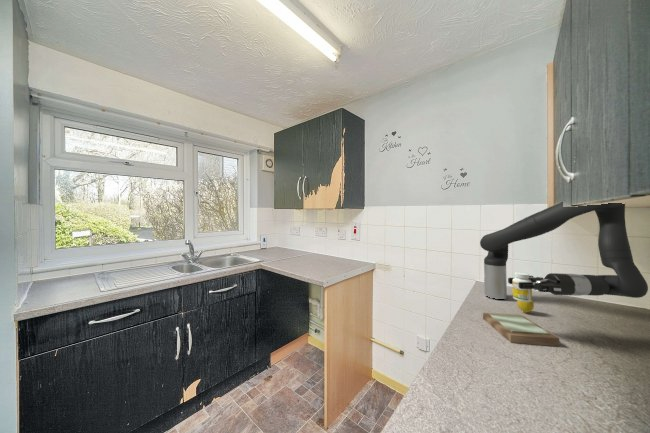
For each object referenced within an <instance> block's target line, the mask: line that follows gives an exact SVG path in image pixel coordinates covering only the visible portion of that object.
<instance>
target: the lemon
mask: <svg viewBox="0 0 650 433" xmlns="http://www.w3.org/2000/svg"><path fill="white" fill-rule="evenodd" d="M516 304H517V308H518V309H520V310H521V311H522V312H523V313H525V314H527V313H530V312H532V311H533V310H534V309H535V305H534V304H535V303H534V300H533V299H532V301H531V302H523V301H518V300H516Z"/></svg>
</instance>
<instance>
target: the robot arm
mask: <svg viewBox="0 0 650 433" xmlns="http://www.w3.org/2000/svg"><path fill="white" fill-rule="evenodd" d="M590 212H594V213H595V214H596V216H597V220H598V225H599V228H598V229H599V231H598V240H597V242H598V244H597V246H598V252H599V257H600V261H601V264H602V266H604V267H605V268H609V269H612V270H613V271H614V273H615V275H614V274H613V275H612V274H599V275H594V274H577V273H555V272H554V273H552V272H551V273H548V274H546V275H545V277H543V276H536V277H535V276H534V275H529V278H528V279H529V280H530V281H531V282H532V283H531V282H519V288H521V289H532V291H538V292H540V293H549V294H552V295H554V296H577V297H578V296H579V297H581V296H596V297H597V296H604V295H607V296H618V297H626V298H634V299H637V298H638V299H640V298H643V297H646V295H647V294H648V291H649V286H648V282H647V280H646V279H645V277H644V275H643V274H642V273H641V271H640V270H639V268H638V267H637V266H636V264H635V262H634V259H633V258H634V257H633V255H632V254H633V253H632V249H631V245H630V242H629V237H628V232H627V227H626V226H627V225H626V203H625V204H622V203H608V204H601V205H587V206H578V207H563V201H561V202H559V203H557V204H554V205H552V206H549V207H547V208H545V209H542V210H541V211H538V212H536V213H533V214H531V215H529V216H526V217H524V218H522V219H520V220H518V221H516V222H514V223H512V224H510V225H509V226H507V227H505V228H503V229H499V230H497V231H494V232H491V233H487V234H485V235H483V236H482V238H481V239H480V242H479V245H480V247H481V248H482V249H483V250H484V251H486V252H487V255H486V256H485V257H484V259H483V267H484V268H483V271H484V272H483V273H484V274H483V275H484V279H483V280H484V281H483V282H484V284H483V285H484V286H483V289H484V290H483V291H484V296H485V295H486V296H488V297H491V298H495V299H506V298H507V299H508V295H507V283H508V284H510V285H513V283H512V280H513V279H514V278H515V277H508V278H507V262H508V259H509V245H510V244H512V243H515V242H518V241H523V240H528V239H532V238H536V237H538V236H541V235H544V234H546V233H547V234H548V233H550V232H552V231H554V230H556V229H558V228H560V226H563V225H564V224H566V223H567V222H568V221H570V220H572V219H573V218H576V217H578V216H582V215H584V214H587V213H590ZM486 296H485V297H486ZM488 297H487V298H488ZM495 299H494V300H495ZM507 299H506V300H507Z"/></svg>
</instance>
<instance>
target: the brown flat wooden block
mask: <svg viewBox="0 0 650 433" xmlns="http://www.w3.org/2000/svg"><path fill="white" fill-rule="evenodd" d="M482 320H484V321H485V322H486V323H487V324H489V325H490V326H491V327H492V328H493V329H494V330H496V332H498V333H499V334H500V335H502V337H503V338H505V340H507V341H508V342H510V344H511V343H512V344H513V343H514V344H525V345H527V344H528V345H537V346H538V345H539V346H551V347H560V338H559V337H557V336H556V335H555V334H553V333H551V331H548V330H547V329H545V328H543V327H541V326H540V325H538V324H537V323H535V322H534V321H532V320H530V319H529V318H527V317H525V316H524V315H522V314H513V313H511V314H510V313H496V312H495V313H493V312H483V313H482Z"/></svg>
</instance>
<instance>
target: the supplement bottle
mask: <svg viewBox="0 0 650 433" xmlns="http://www.w3.org/2000/svg"><path fill="white" fill-rule="evenodd" d="M529 276H530V274H528V273H526V272H519V271H518V272H516V271H515V272H514V277H513V278H514V279H513V280H512V283H513V284H512V298H513V299H514V300H515V301H517V300H518V301H523V302H531V301H532V300H533V290H532V289H521V288H519V282H531V281H530V280H529V279H528V278H529ZM531 283H532V282H531Z"/></svg>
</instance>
